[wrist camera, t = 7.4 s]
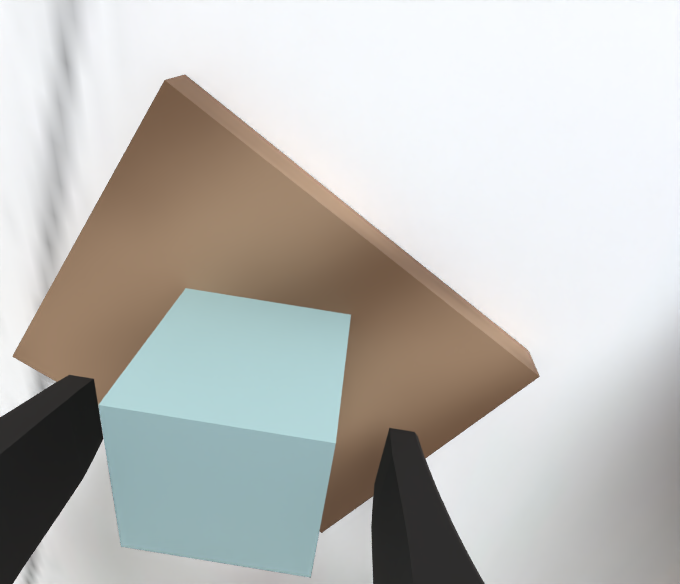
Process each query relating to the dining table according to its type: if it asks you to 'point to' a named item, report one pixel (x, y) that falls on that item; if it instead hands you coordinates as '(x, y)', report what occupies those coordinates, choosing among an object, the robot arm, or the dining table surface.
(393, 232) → the dining table surface
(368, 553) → the dining table surface
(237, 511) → the teal cube
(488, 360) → the walnut board
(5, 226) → the dining table surface
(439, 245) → the dining table surface
